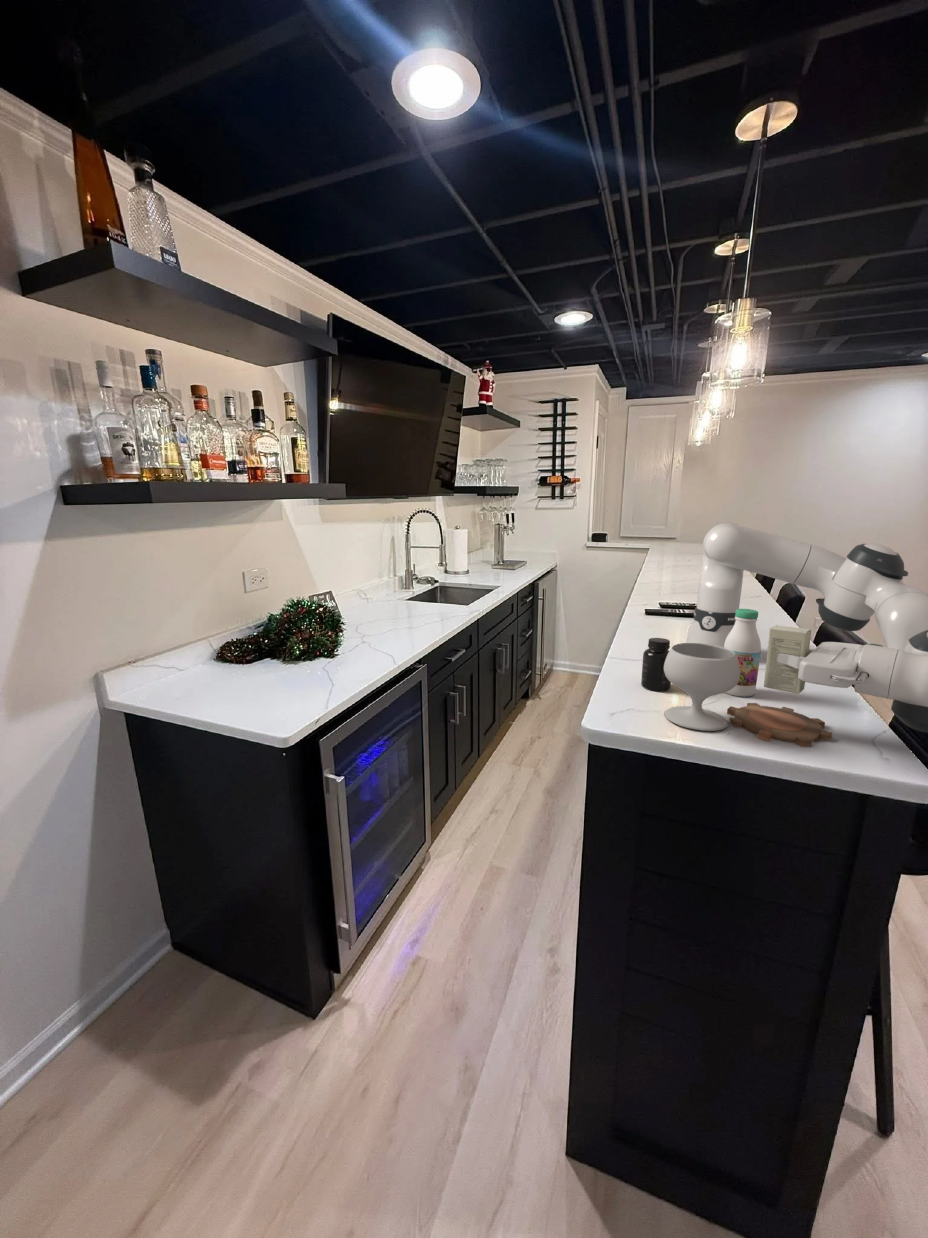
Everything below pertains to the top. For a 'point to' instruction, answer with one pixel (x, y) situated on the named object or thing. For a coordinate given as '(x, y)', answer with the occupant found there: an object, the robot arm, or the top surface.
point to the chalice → (700, 682)
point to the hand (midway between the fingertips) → (782, 654)
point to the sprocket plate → (778, 724)
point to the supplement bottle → (655, 665)
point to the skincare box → (791, 643)
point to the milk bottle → (745, 651)
